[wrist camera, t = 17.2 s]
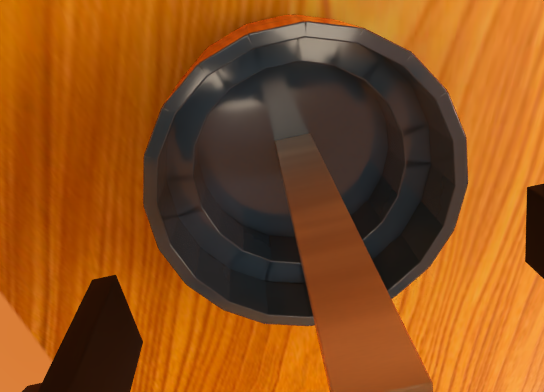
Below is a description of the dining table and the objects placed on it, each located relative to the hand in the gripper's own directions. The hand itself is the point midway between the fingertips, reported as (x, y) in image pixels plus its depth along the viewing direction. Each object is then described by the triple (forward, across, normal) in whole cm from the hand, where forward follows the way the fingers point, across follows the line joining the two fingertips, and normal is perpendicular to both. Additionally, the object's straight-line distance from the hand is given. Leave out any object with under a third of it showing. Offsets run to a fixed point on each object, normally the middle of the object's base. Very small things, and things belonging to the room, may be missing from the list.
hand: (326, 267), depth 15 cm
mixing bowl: (+13, 0, 0) cm, 13 cm away
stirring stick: (+12, 0, 0) cm, 12 cm away
